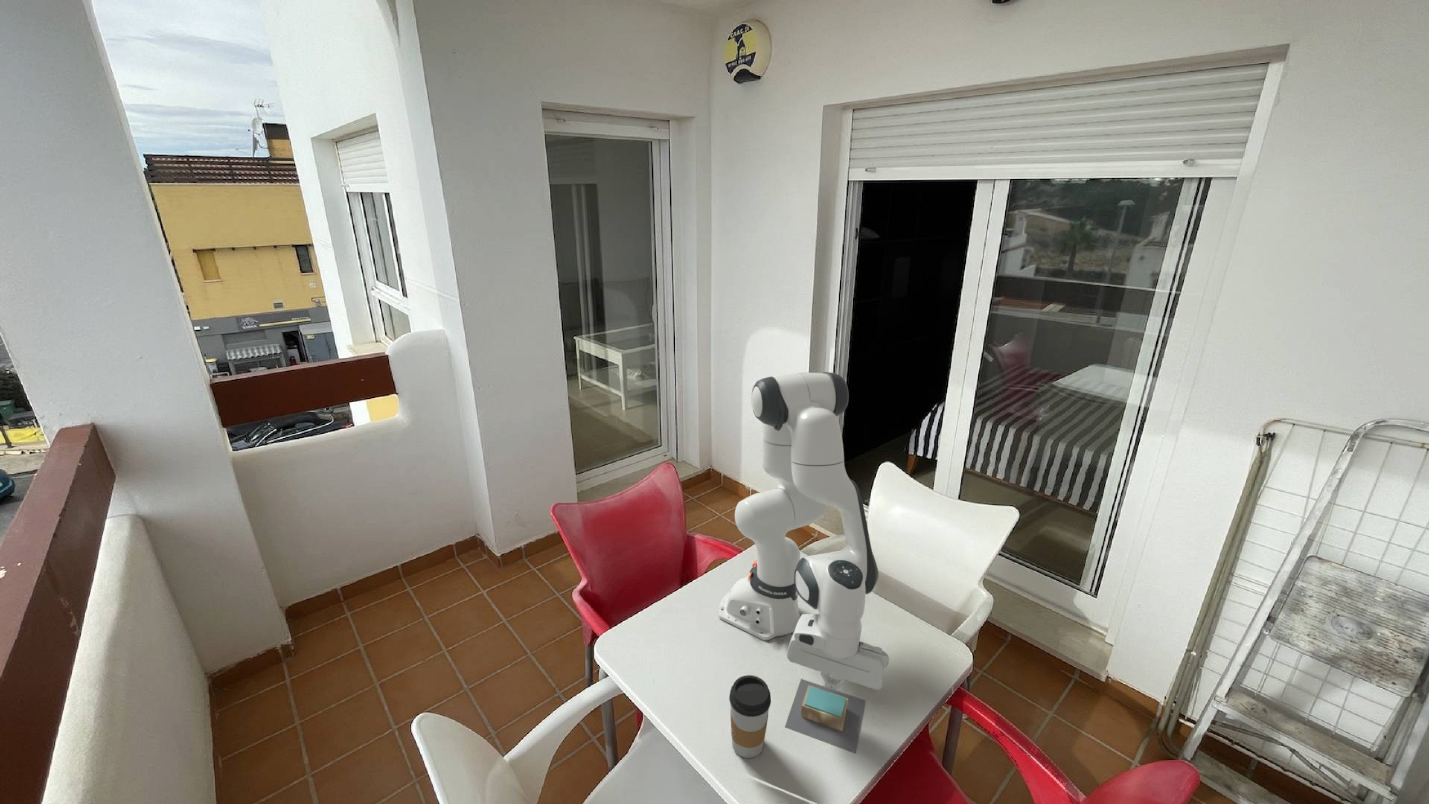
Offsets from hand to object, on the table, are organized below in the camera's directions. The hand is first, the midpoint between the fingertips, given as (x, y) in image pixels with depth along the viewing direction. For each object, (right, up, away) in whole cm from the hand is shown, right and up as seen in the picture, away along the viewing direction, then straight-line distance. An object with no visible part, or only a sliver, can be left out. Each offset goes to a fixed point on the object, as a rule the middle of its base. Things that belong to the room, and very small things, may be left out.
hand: (831, 687), depth 117 cm
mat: (-1, -8, +3) cm, 8 cm away
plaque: (+3, -6, +1) cm, 7 cm away
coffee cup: (-18, -10, -4) cm, 22 cm away
